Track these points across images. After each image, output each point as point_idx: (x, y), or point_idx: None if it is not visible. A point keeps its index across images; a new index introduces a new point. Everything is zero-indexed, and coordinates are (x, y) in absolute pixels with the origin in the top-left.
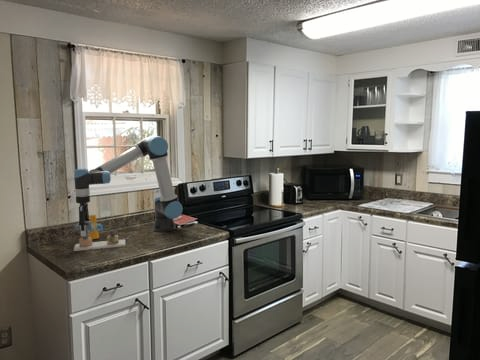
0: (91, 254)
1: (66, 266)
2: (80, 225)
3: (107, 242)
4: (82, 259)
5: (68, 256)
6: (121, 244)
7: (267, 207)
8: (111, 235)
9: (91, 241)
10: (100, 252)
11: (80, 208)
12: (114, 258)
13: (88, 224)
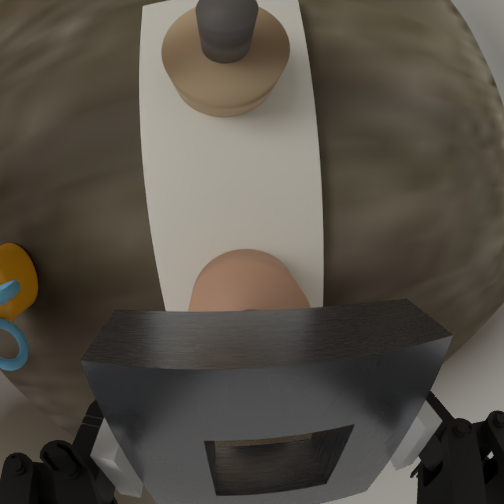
0: (423, 220)
1: (499, 297)
2: (411, 458)
3: (244, 110)
4: (470, 255)
5: None
6: (298, 15)
7: None
8: (249, 45)
9: (266, 262)
10: (404, 165)
11: None
12: (487, 105)
13: (345, 416)
